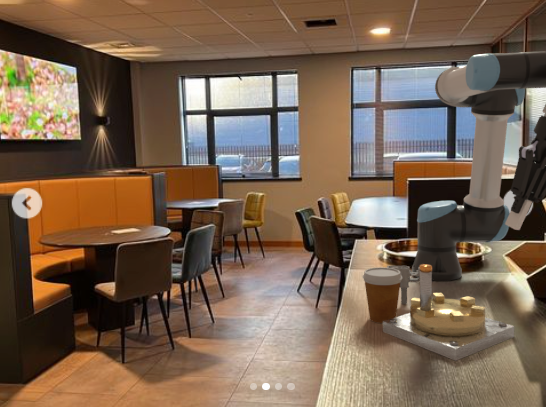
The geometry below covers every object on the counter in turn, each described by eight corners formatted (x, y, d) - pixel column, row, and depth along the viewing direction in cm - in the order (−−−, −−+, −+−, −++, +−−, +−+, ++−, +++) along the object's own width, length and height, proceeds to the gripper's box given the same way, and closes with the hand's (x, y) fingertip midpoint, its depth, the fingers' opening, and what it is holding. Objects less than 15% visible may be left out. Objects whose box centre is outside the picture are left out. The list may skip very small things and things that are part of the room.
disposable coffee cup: (379, 328, 123) (379, 279, 121) (355, 317, 131) (354, 270, 130) (410, 321, 127) (410, 272, 126) (385, 310, 136) (385, 265, 134)
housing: (439, 313, 132) (440, 302, 131) (514, 336, 115) (514, 324, 115) (382, 331, 121) (382, 319, 121) (455, 360, 104) (455, 346, 104)
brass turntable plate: (496, 320, 118) (497, 259, 116) (466, 341, 107) (467, 274, 105) (430, 306, 129) (430, 250, 127) (397, 324, 117) (396, 263, 116)
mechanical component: (424, 305, 138) (424, 268, 137) (384, 304, 140) (384, 268, 139) (423, 302, 141) (423, 265, 140) (384, 301, 143) (384, 265, 142)
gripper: (565, 121, 110) (518, 222, 117) (523, 108, 104) (477, 216, 111) (597, 130, 103) (546, 237, 110) (555, 118, 98) (504, 231, 104)
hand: (512, 226), depth 111 cm, fingers closed
